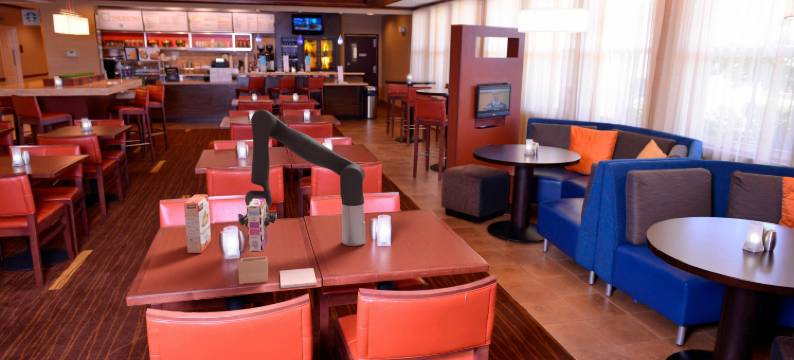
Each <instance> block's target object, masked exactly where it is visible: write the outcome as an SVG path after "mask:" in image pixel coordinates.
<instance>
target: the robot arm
mask: <svg viewBox="0 0 794 360" xmlns="http://www.w3.org/2000/svg"><path fill="white" fill-rule="evenodd" d="M250 123H251V133H252V162H251V173H250V183H251V184H253V185H255V186H256V185H257V186H260V187H262V188H263V190H249V191H247V192H246V194H245V197H244V202H245V205H246V207H247V206H248V205H249V203H250V202H251V200H252V199H266V217H265V227H267V228H268V226H270V223H271V224H274V223H275V222H276V221H277V219H278V213H277V211H273V212H271V213H270V212H269V208H271V205H272V203H273V197H272V193H271V188H270V164H271V163H270V162H271V161H270V152H269V150H270V149H269V147H270V146H269V145H270V138H272V139H274V140H276V141H277V142H280V143H281V144H282V145H284V147H286V148H287V149H288V150H289V151H291V152H292V153H294V154H295V155H296V156H298V157H299V158H301V159H302V160H305V161H306V162H308V163H310V164H313V165H315V166H318V167H321V168H324V169H327V170H329V171H332V172H333V173H334V174H336V175H337V176H339V186H340V187H339V191H340V193H339V194H340V199H341V229H342V230H341V232H342V233H341V234H342V237H341V238H342V239H341V240H342V244H343V245H345V246H349V247H357V246H362V245H365V244H366V220H365V196H364V190H363V189H364V186H363V185H364V183H363V182H364V181H365V177H366V172H365V170H364V168H363V167H362V166H361V165H359V164H358V163H356V162H354V161H351V160H349V159H347V158H345V157H343V156H341V155H340V154H338V153H336V152H335V151H334V150H332V149H330V147H329V148H328V147H327V146H325V145H324V144H323V143H321V142H319V141H318V140H316V139H315V138H313V137H312V136H310V135H307V134H306V133H303V132H301V131H299V130H296V129H294V128H292V127H290V126H288V124H285V123H284V122H283V121H282V120H280V119H278V118H277V117H276V116H275V115H274V114H273V113H272V112H270V111H268V110H265V109H258V110H257V111H255V112H254V113H252V116H251V119H250ZM237 218H238V223H239V224H240V226H245V227H246V228H247V229H248V221H247V213H246V214H245V215H244V214H242V213H238V214H237ZM245 227H244V228H245Z"/></svg>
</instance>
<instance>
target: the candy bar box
mask: <svg viewBox="0 0 794 360" xmlns="http://www.w3.org/2000/svg"><path fill="white" fill-rule="evenodd" d="M246 214H247V221H248V228H247V235H248V236H247V237H248V240H247V241H248V252H249V253H262V252H263V251H264V249H265V247H266V245H267V243H268V226H267V227H265V217H266V199H252V200H251V202H250V203H249V205H248V206H247V205H246Z"/></svg>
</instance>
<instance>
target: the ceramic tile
mask: <svg viewBox="0 0 794 360" xmlns="http://www.w3.org/2000/svg"><path fill="white" fill-rule="evenodd" d="M279 276H280V277H279V279H280V289H289V288H297V287H299V288H301V287H311V286H317V285H318V283H317V278H316V275H315V270H314V268H313V267H311V268H310V267H308V268H299V269H285V270H279Z"/></svg>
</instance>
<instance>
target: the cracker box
mask: <svg viewBox="0 0 794 360" xmlns="http://www.w3.org/2000/svg"><path fill="white" fill-rule="evenodd" d="M209 203H210V201H209V194H194V195H193V196H191V197H190V198H189V199H187V200H186V201H185V202H184V203H183V210H184V212H183V213H184V221H185V222H184V223H185V235H186V236H185V237H186V248H187V254H202V253H203V252H204V251H205V249H207V247H208V246H209V245H210V244H211V242H212V237H211V220H210V219H211V218H210V207H209V206H210V204H209Z"/></svg>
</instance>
